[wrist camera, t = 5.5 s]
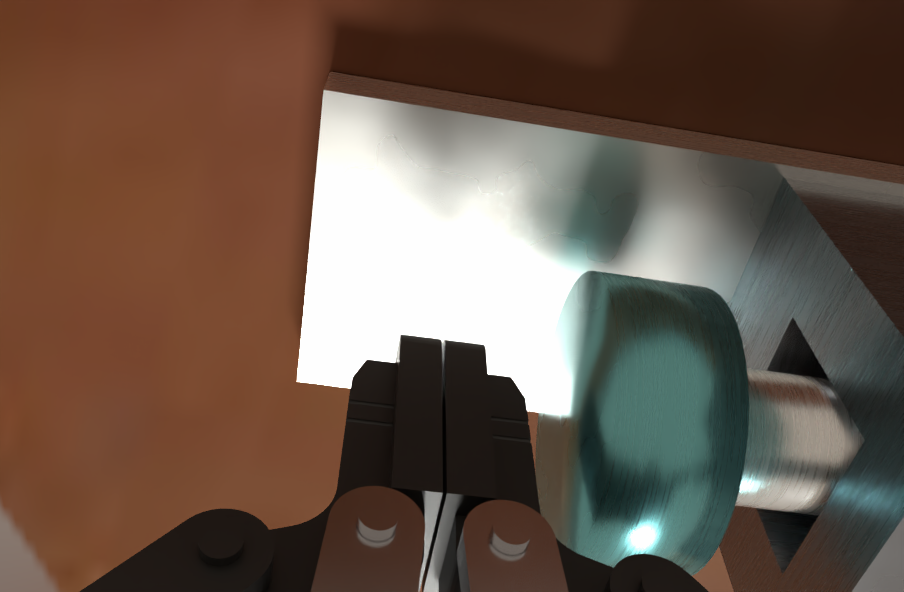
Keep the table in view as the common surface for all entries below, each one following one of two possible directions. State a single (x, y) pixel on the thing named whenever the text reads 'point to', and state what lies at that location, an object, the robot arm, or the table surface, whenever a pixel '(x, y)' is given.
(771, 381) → the shaft
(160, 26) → the table surface
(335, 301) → the shaft housing
